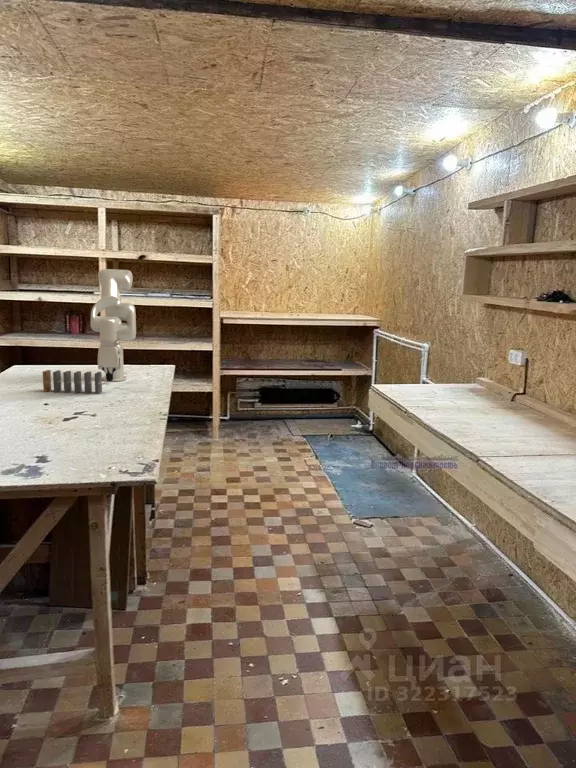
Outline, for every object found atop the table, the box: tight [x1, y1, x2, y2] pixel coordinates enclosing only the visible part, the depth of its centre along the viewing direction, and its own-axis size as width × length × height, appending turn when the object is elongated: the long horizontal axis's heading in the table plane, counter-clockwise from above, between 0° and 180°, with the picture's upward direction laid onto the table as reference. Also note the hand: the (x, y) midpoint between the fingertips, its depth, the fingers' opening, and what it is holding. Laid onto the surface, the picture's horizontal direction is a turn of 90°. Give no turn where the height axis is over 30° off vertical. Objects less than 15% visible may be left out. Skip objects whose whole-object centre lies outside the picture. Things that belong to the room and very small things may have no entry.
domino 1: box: [42, 369, 52, 393], centre depth 250 cm, size 2×5×10 cm, turn 1°
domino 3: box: [62, 370, 73, 394], centre depth 250 cm, size 2×5×10 cm, turn 1°
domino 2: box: [52, 369, 62, 393], centre depth 250 cm, size 2×5×10 cm, turn 1°
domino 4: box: [73, 370, 83, 394], centre depth 250 cm, size 2×5×10 cm, turn 1°
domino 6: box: [94, 371, 103, 395], centre depth 250 cm, size 2×5×10 cm, turn 1°
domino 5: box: [83, 371, 93, 395], centre depth 250 cm, size 2×5×10 cm, turn 1°
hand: (109, 381), depth 250 cm, fingers closed
